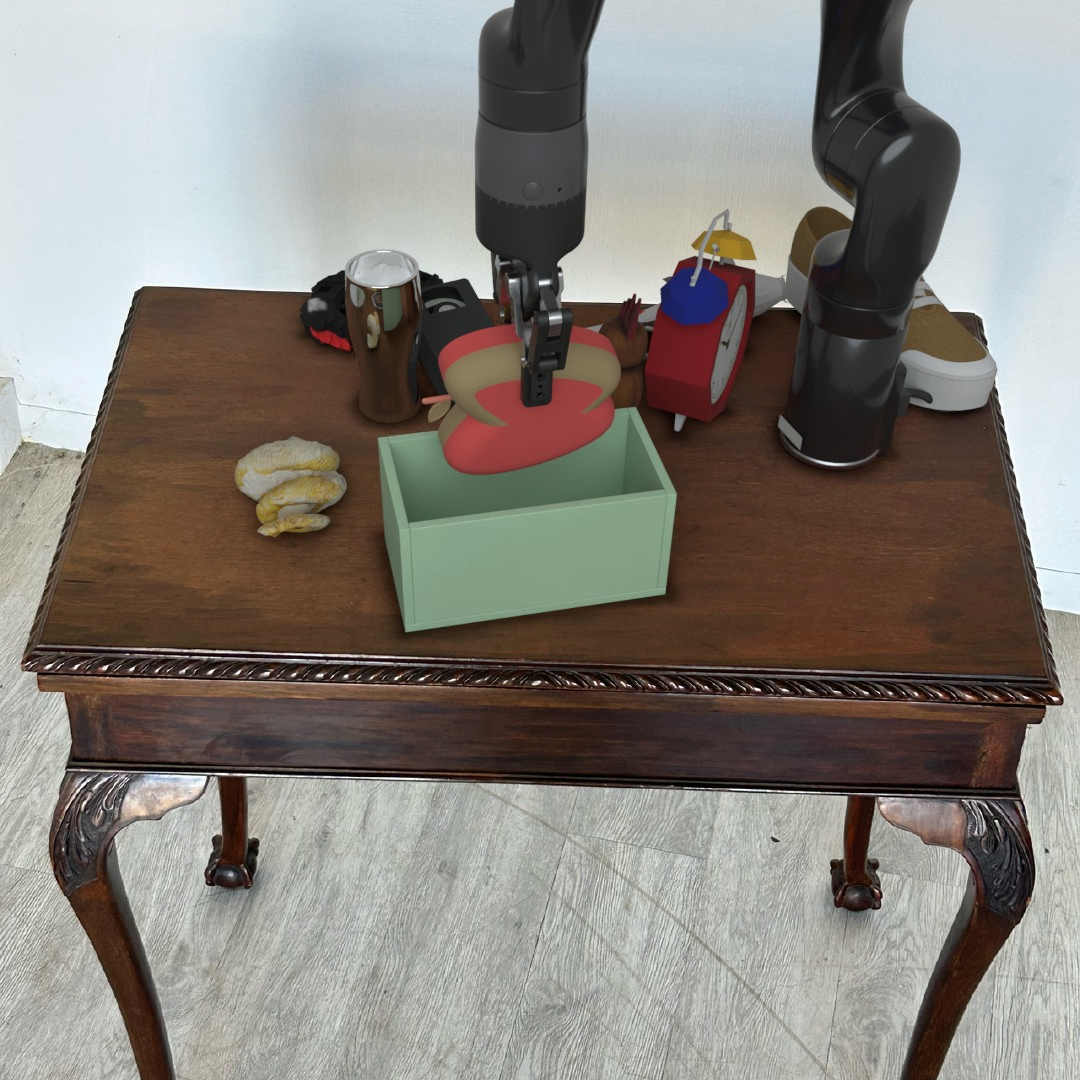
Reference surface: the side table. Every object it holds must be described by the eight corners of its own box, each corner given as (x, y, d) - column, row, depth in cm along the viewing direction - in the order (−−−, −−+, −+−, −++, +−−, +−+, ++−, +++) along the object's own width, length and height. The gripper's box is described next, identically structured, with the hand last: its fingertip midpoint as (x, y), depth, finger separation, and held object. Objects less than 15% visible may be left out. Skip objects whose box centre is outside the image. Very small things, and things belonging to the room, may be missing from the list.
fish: (798, 237, 139) (745, 241, 148) (574, 285, 130) (533, 286, 139) (811, 335, 142) (758, 334, 151) (592, 390, 133) (550, 384, 142)
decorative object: (614, 463, 111) (432, 494, 108) (601, 428, 113) (422, 458, 110) (634, 344, 100) (432, 375, 97) (618, 308, 102) (421, 337, 99)
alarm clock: (701, 454, 127) (725, 264, 113) (613, 430, 129) (627, 241, 116) (747, 371, 137) (775, 187, 123) (665, 350, 139) (684, 168, 126)
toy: (361, 260, 151) (359, 236, 149) (486, 298, 146) (486, 274, 144) (271, 335, 140) (268, 309, 138) (404, 379, 135) (402, 353, 133)
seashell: (358, 401, 122) (314, 501, 110) (371, 457, 125) (330, 559, 114) (252, 404, 124) (198, 503, 112) (268, 460, 127) (218, 560, 116)
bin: (627, 505, 121) (635, 406, 114) (665, 594, 113) (677, 493, 106) (384, 537, 117) (377, 437, 110) (405, 632, 109) (399, 530, 102)
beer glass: (409, 433, 128) (402, 294, 118) (341, 417, 130) (329, 279, 120) (437, 392, 133) (433, 256, 123) (371, 377, 135) (362, 242, 125)
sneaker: (927, 432, 129) (956, 340, 123) (755, 288, 148) (772, 202, 142) (1007, 411, 133) (1039, 321, 127) (829, 273, 152) (849, 189, 146)
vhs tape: (521, 391, 134) (524, 378, 132) (446, 411, 131) (448, 397, 129) (465, 291, 140) (467, 276, 139) (393, 307, 138) (394, 293, 136)
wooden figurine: (626, 453, 127) (662, 314, 117) (566, 438, 127) (597, 297, 117) (636, 413, 132) (672, 277, 122) (578, 399, 132) (609, 261, 122)
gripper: (618, 218, 87) (603, 433, 99) (554, 122, 97) (548, 327, 109) (504, 232, 85) (502, 448, 97) (451, 133, 96) (456, 339, 107)
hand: (526, 383), depth 103 cm, fingers closed on decorative object, 4 cm apart
